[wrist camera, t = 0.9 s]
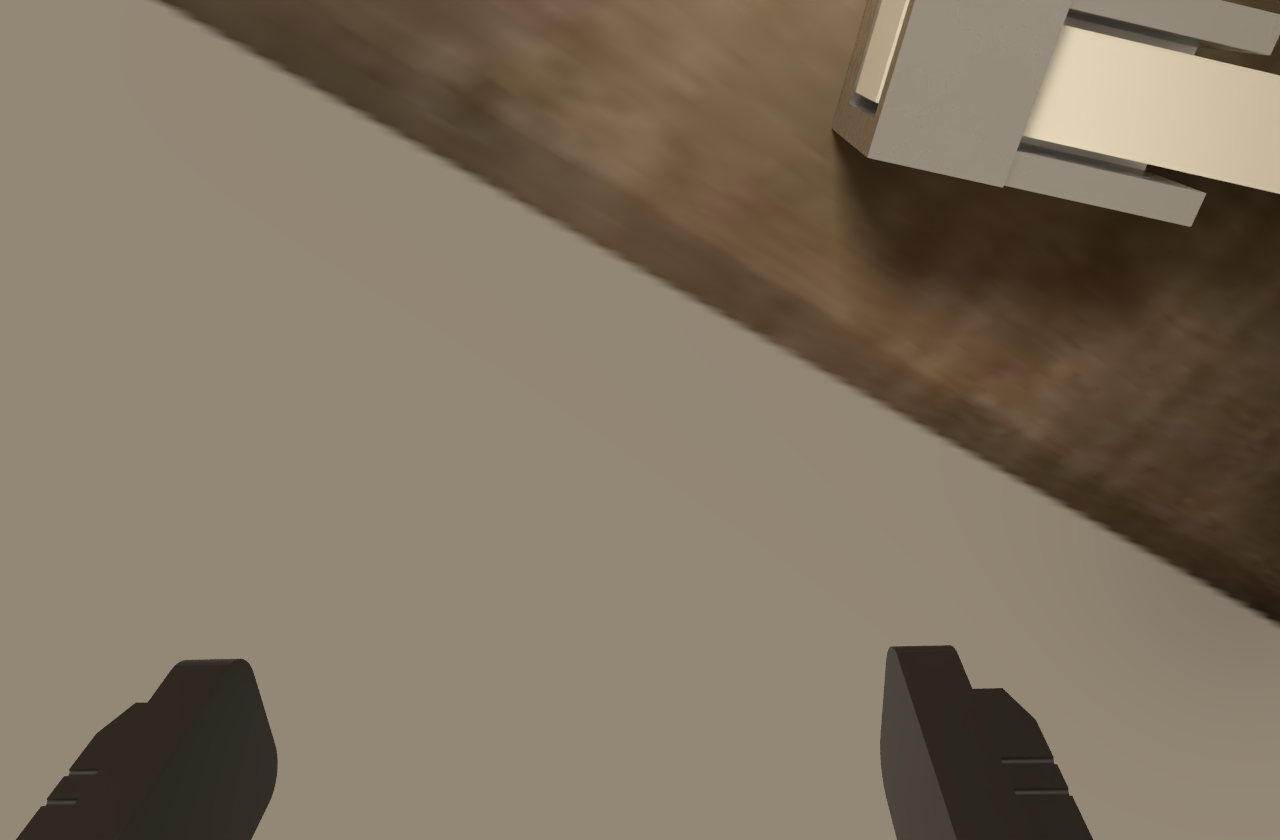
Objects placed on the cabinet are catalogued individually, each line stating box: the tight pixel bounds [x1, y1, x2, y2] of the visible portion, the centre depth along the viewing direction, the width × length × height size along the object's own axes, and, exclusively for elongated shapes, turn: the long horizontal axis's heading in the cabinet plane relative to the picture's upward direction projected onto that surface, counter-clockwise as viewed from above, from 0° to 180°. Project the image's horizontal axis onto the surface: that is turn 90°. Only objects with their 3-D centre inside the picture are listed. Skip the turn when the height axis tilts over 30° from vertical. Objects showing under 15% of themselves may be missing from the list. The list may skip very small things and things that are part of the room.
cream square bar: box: [856, 0, 1280, 194], centre depth 28 cm, size 18×3×3 cm, turn 78°
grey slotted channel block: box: [832, 0, 1280, 227], centre depth 28 cm, size 10×6×6 cm, turn 78°
